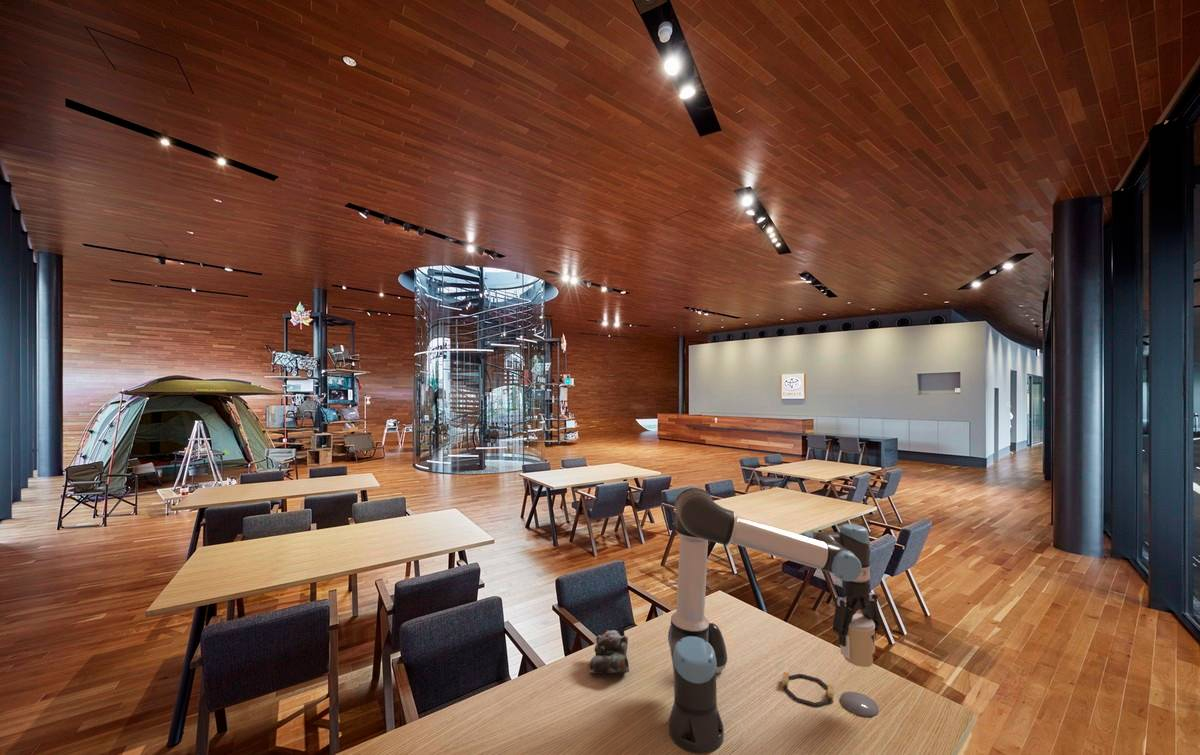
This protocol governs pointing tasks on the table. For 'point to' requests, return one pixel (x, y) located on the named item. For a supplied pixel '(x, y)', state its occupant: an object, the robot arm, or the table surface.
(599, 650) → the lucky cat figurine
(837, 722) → the table surface
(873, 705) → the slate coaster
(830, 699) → the socket ring
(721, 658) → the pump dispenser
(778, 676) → the table surface
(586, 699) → the table surface
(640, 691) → the table surface
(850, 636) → the coffee cup
